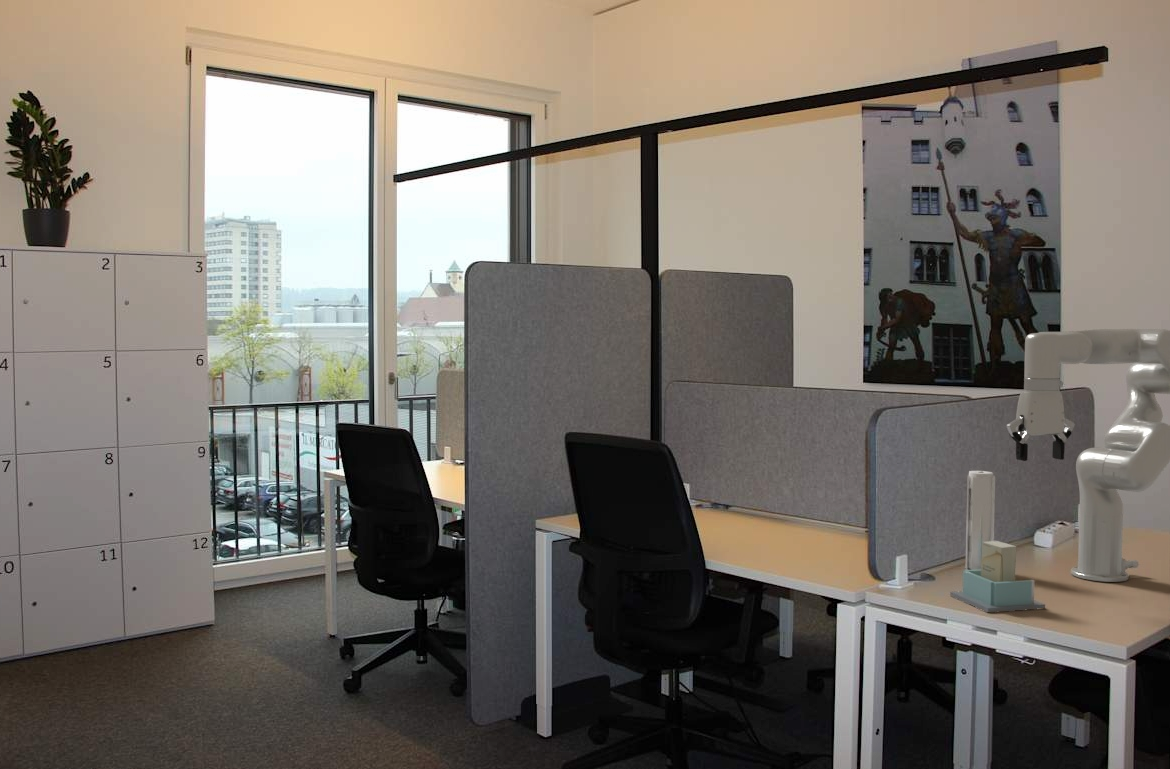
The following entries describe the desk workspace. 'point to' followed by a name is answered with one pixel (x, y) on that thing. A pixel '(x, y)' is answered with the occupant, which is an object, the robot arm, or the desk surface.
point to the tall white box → (979, 515)
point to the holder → (996, 593)
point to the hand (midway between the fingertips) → (1040, 459)
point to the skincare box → (998, 561)
